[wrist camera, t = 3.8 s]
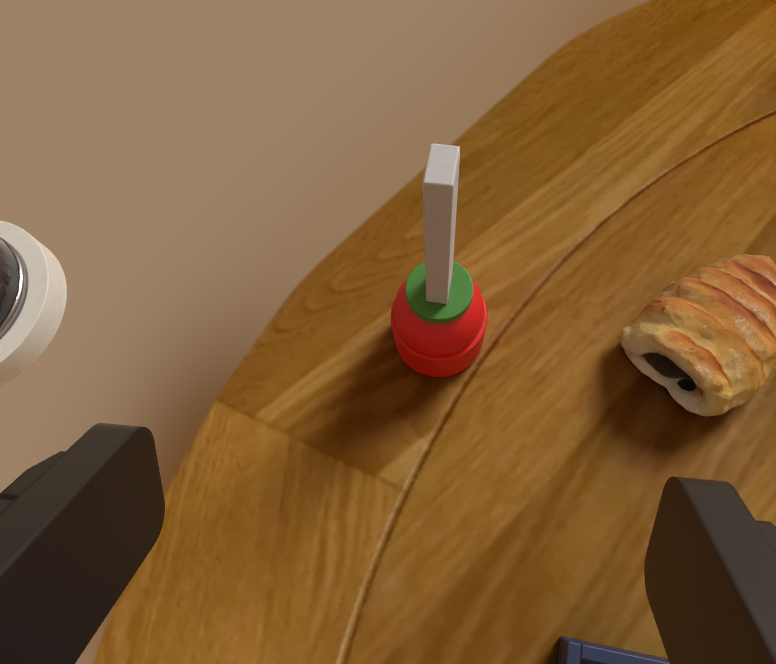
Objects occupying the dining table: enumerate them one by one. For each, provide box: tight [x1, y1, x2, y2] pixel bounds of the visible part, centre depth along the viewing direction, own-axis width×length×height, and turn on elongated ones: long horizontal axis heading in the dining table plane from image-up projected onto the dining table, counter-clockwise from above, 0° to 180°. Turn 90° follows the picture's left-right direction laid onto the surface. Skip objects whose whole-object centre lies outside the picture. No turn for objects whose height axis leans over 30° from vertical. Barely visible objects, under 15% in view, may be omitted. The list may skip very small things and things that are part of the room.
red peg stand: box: [391, 144, 487, 377], centre depth 26 cm, size 5×5×15 cm
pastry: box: [620, 254, 776, 416], centre depth 30 cm, size 9×7×4 cm
